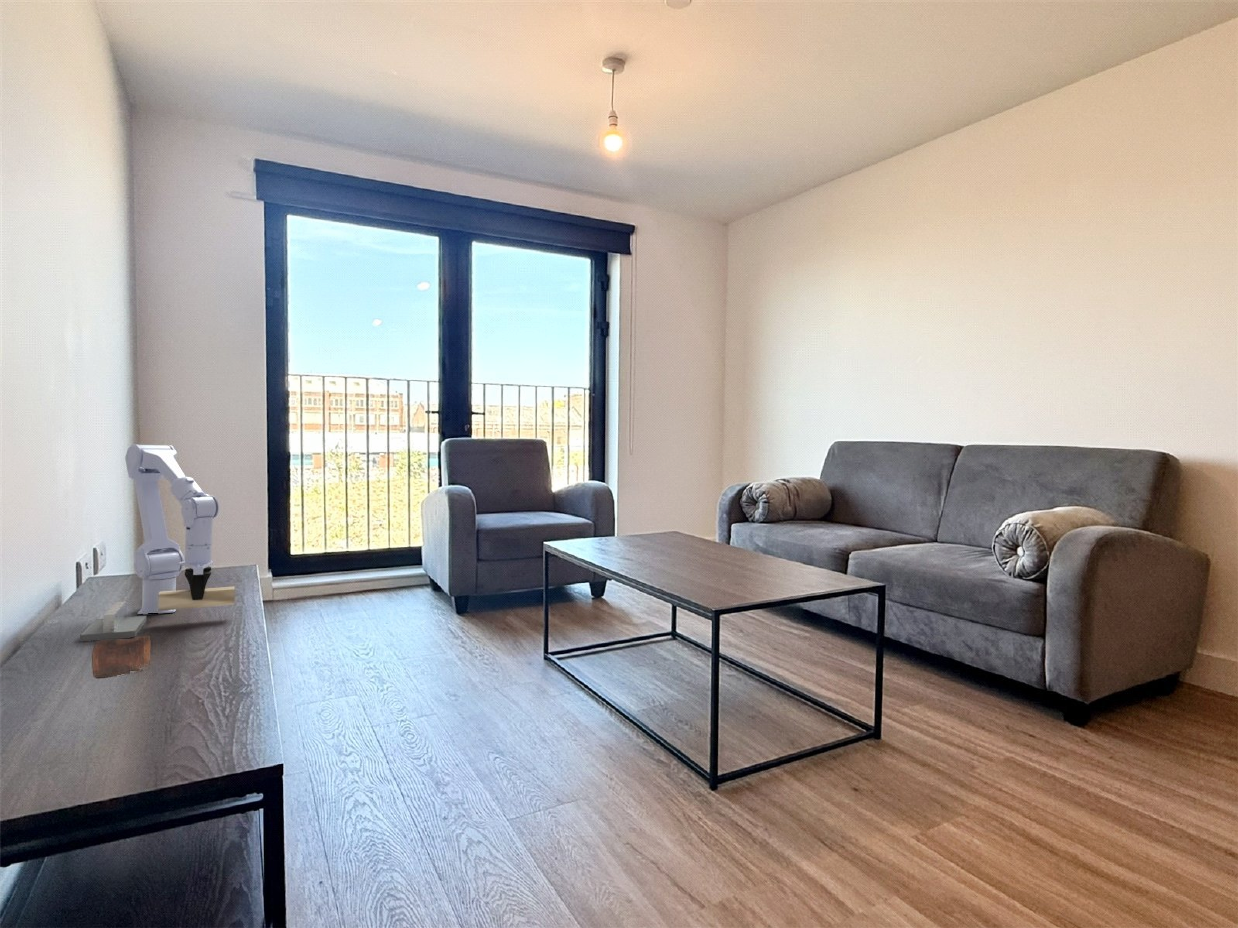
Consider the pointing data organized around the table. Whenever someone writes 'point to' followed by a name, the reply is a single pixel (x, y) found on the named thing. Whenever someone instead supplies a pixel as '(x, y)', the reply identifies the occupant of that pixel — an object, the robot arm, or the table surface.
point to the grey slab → (123, 631)
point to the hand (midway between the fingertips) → (197, 598)
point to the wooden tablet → (120, 656)
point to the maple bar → (184, 600)
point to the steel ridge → (114, 617)
